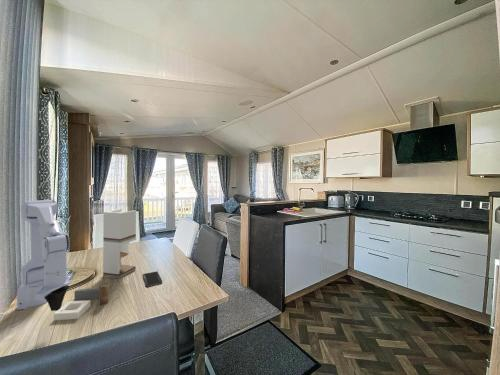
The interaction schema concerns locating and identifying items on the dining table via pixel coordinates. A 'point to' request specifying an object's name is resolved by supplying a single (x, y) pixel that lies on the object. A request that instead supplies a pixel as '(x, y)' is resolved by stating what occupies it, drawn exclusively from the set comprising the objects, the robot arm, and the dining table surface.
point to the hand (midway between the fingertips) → (55, 309)
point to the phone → (152, 279)
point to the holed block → (72, 310)
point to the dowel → (103, 294)
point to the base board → (86, 293)
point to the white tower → (117, 241)
